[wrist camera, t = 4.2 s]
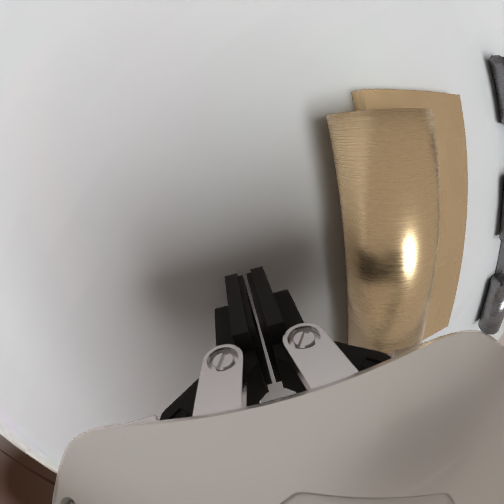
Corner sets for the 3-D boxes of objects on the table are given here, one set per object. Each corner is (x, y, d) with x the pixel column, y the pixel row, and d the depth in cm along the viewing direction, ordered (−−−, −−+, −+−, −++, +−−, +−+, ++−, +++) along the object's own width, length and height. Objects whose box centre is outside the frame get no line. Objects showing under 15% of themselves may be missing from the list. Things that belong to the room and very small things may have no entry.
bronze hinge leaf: (439, 317, 17) (472, 350, 13) (337, 363, 17) (363, 412, 13) (445, 95, 10) (502, 96, 6) (305, 96, 10) (354, 77, 6)
